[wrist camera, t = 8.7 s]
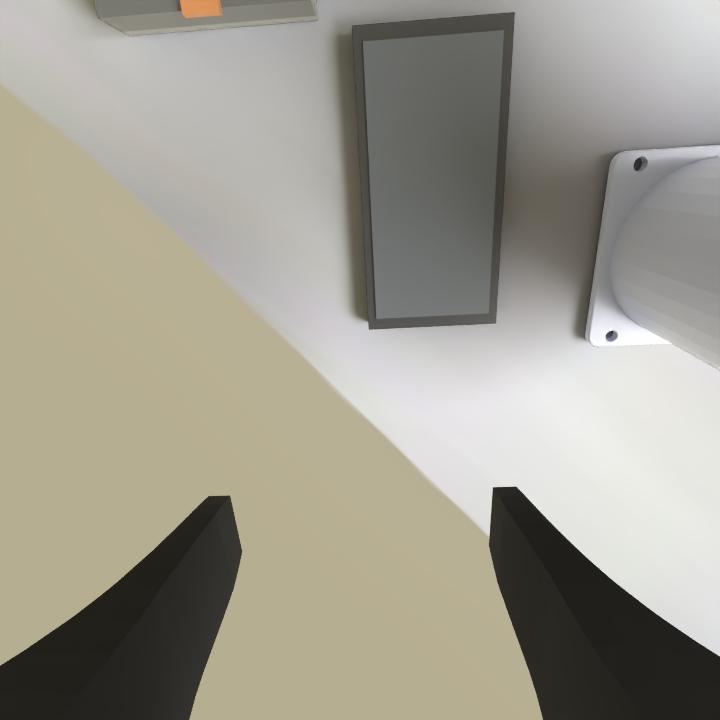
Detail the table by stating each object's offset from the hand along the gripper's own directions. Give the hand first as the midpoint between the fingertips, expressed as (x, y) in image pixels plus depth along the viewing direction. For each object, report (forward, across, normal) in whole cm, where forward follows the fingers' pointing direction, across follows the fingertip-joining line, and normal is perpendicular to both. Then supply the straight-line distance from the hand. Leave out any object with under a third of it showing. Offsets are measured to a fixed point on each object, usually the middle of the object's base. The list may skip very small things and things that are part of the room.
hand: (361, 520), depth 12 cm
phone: (+10, -3, -8) cm, 13 cm away
